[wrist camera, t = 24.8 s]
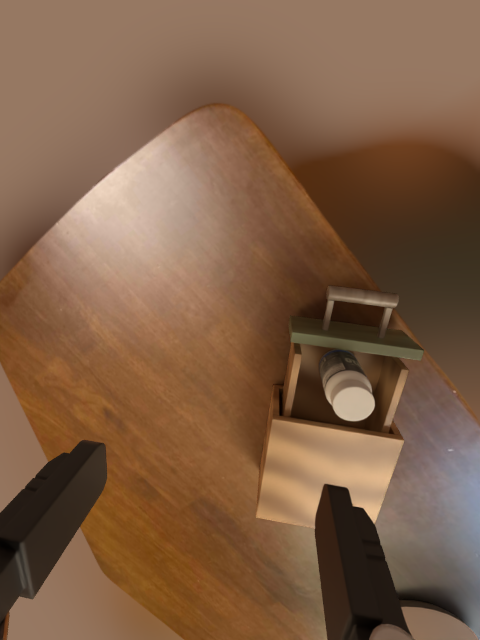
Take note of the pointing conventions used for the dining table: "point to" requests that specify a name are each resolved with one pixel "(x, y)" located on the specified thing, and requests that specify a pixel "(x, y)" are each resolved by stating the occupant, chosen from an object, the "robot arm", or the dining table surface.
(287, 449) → the cabinet
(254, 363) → the dining table surface
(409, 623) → the pot
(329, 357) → the pill bottle
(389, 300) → the drawer
